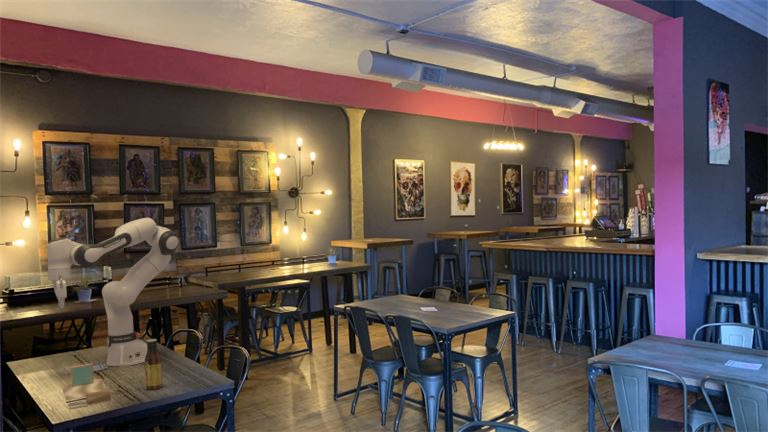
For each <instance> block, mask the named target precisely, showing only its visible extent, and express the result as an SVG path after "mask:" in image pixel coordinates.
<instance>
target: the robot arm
mask: <svg viewBox="0 0 768 432" xmlns="http://www.w3.org/2000/svg"><path fill="white" fill-rule="evenodd" d="M142 242H145V243H146V244H147V245H149V246H151V248H150V251H149V252H148V253H147V254H145V256H143V257H142V258H141V259H139V260H138V261H137V262H136V263H135V264H134V265H132V267H131V268H130V269H128V271H127V272H126V274H125V276H124V277H123V278H122V279H121V280H119V281H117V280H112V281H109V282H107V283H106V284H104V286H103V287H102V289H101V294H102V295H101V296H102V298H103V303H104V308H105V312H106V316H107V317H106V318H107V335H106V336H107V338H106V339H107V340H106V341H107V342H106V343H107V347H108V349H107V350H108V351H107V360H106V364H105V365H106V366H109V367H124V366H126V367H129V366H133V365H137V364H141V363H145V357H146V354H147V342H145V341H143V340H142V339H139V338H140V337H141V333H139V332H137V331H134V317H133V313H132V311H131V308H130V306H131V305H132V304H133V303H134V302H136V299H137V297H138V296H139V294H140V293H141V292H142V291H143V289H144V288H145V287H146V286H147V285H148V284H149V283H150V282H151V281H152V280H154V278H156V277H157V276H158V275H159V274H160V273H161V272H162V271H163V270H164V269H165V268H166V267H167V265H168V264H169V263H170V261H171V259H172V256H171V255H172V254H174V253H175V251H176V250H177V249H178V248H179V247H180V243H181V239H180V236H179V235H178V233H176V232H175V231H173V230H171V229H170V228H167V227H164V226H162V225H161V226H160V225H158V224H157V223H156V222H155V220H154V219H153V218H150V217H141V218H138V219H134V220H131V221H128V222H126V223H124V224H122V225H121V226H119V227H117V228H116V229H115V231H114V236H112V237H111V238H108V239H106V240H103V241H101V242H99V243H95V244H93V243H87V244H83V243H80V242H79V243H78V242H76V241H73V240H71V239H69V238H67V237H57V238H54V239H51V240H49V242H48V243H47V247H46V248H47V249H46V258H47V259H46V260H47V263H48V265H47V277H48V278H47V279H48V281H51V284H52V285H53V289H54V294H55V296H56V299H57V301H58V302H57V303H58V306H59V309H64V308H65V301H66V299H67V297H68V296H67V295H68V292H67V283H69V279H72V265H73V266H80V267H84V268H92V267H94V266H95V267H96V265H97V264H99V263H100V262H101V261H102V260H103V259H104V258H105V257H107V256H108V255H111V254H113V253H115V252H117V251H119V250H122V249H124V248H129V247H132V246H135V245H138V244H140V243H142Z"/></svg>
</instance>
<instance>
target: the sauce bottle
mask: <svg viewBox="0 0 768 432" xmlns="http://www.w3.org/2000/svg"><path fill="white" fill-rule="evenodd" d="M146 343H147V354H146V357H145V362H144V371H145V373H144V374H145V385H146V389H147V390H157V389H160V388H161V387H162V386H163V371H162V369H163V368H162V359H161V358H162V357H161V353H160V352H159V351H158V339H157V338H151V339H148V340H147V339H146Z"/></svg>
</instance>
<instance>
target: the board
mask: <svg viewBox="0 0 768 432" xmlns="http://www.w3.org/2000/svg"><path fill="white" fill-rule="evenodd" d="M61 388H62V392H63V395H64V398H65V400H66V402H65V404H70V403H75V402H80V401H85V400H86V394H88V393H93V392H98V391H103V390H108V387H107V386H106V384H105V382H104V380H103V378H96V379H94V383H91V384H86V385H80V386H75V387H72V383H70V384H69V383H68V384H65V385H61ZM73 399H74V400H73Z"/></svg>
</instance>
